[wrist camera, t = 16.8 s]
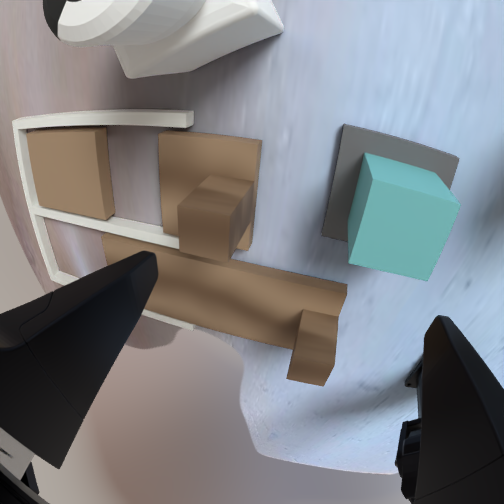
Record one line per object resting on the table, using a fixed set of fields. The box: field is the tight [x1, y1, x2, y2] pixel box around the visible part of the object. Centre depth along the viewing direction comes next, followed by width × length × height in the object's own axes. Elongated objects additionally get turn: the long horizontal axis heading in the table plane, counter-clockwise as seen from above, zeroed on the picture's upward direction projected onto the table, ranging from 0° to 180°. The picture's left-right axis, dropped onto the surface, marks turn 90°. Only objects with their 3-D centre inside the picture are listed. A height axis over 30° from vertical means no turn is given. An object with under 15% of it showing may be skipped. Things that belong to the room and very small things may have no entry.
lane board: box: [12, 109, 196, 331], centre depth 26 cm, size 21×21×2 cm
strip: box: [101, 232, 347, 386], centre depth 25 cm, size 8×22×6 cm, turn 85°
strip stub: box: [158, 130, 262, 263], centre depth 19 cm, size 8×7×6 cm
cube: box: [348, 153, 461, 281], centre depth 17 cm, size 5×5×5 cm
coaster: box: [322, 124, 459, 242], centre depth 19 cm, size 8×8×1 cm
